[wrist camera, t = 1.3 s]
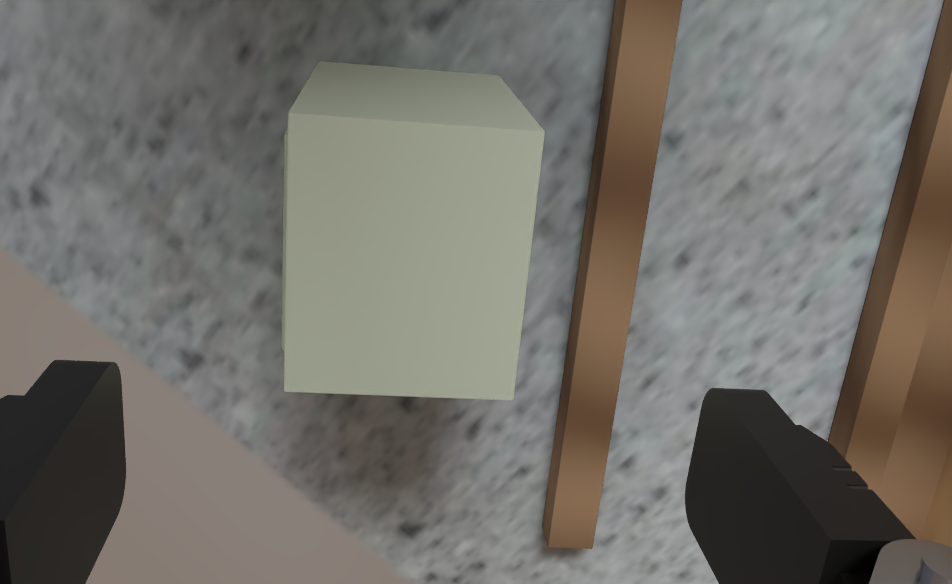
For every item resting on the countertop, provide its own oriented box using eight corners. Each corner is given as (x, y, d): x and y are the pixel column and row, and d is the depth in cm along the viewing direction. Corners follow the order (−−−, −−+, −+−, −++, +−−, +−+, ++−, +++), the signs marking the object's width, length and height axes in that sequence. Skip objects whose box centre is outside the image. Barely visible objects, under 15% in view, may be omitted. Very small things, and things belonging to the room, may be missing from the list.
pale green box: (313, 60, 25) (280, 112, 17) (499, 75, 25) (544, 131, 18) (308, 266, 27) (276, 391, 19) (479, 275, 27) (512, 400, 20)
